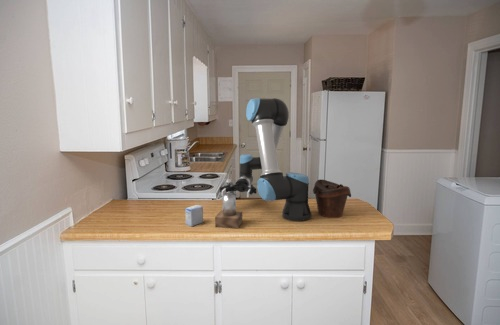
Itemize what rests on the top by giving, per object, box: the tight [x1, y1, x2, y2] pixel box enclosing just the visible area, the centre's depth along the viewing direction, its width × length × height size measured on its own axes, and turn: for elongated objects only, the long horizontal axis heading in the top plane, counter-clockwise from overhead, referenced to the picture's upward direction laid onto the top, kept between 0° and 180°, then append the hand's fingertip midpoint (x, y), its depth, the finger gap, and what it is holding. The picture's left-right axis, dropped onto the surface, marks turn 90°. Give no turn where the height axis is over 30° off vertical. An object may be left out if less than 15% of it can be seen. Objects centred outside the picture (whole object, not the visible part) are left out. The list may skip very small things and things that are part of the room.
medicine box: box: [184, 204, 204, 227], centre depth 171 cm, size 8×4×9 cm, turn 141°
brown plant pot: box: [312, 179, 352, 218], centre depth 185 cm, size 18×20×18 cm
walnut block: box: [214, 209, 243, 229], centre depth 171 cm, size 11×11×5 cm
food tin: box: [221, 192, 237, 216], centre depth 170 cm, size 7×7×10 cm
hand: (234, 194), depth 180 cm, fingers open, 13 cm apart
